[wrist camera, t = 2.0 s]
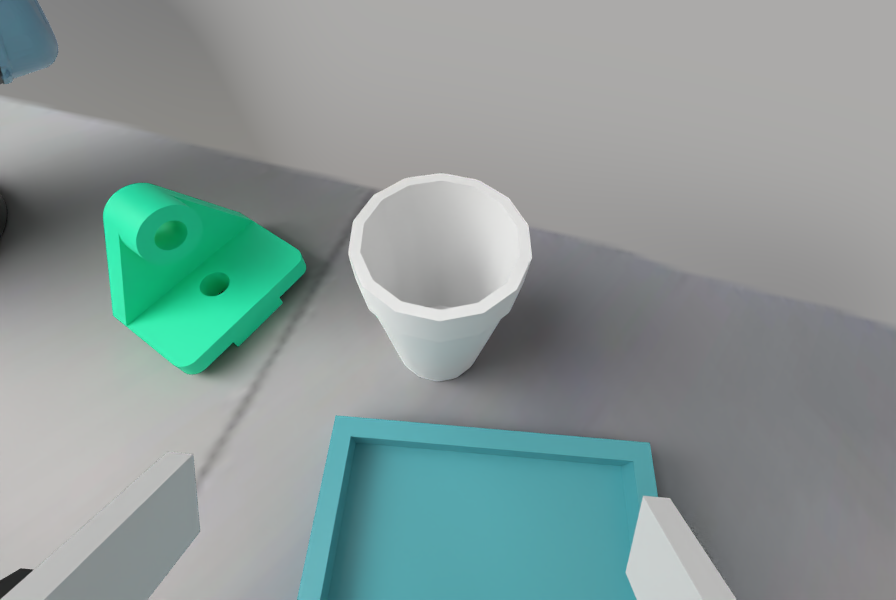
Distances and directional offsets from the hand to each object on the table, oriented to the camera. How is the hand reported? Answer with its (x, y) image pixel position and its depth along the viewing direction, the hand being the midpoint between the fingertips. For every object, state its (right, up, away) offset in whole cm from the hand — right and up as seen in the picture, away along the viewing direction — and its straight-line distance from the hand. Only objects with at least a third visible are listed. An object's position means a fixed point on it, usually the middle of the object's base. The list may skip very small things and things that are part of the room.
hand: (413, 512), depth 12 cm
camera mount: (-17, +6, +22) cm, 29 cm away
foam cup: (0, +3, +21) cm, 21 cm away
